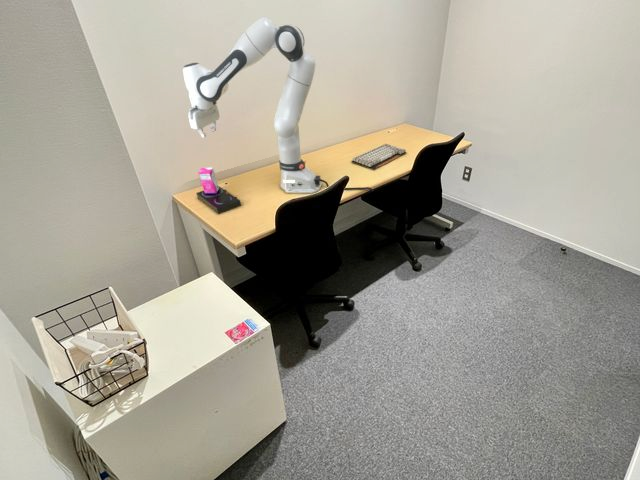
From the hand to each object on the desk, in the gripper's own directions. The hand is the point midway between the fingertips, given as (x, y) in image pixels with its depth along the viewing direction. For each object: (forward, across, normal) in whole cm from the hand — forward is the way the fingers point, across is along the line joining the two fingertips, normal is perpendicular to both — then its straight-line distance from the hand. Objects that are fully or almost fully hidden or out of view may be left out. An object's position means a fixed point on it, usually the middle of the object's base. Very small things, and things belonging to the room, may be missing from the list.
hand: (208, 134), depth 162 cm
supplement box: (+24, -15, -4) cm, 28 cm away
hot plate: (+27, -18, -8) cm, 33 cm away
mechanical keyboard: (+27, +60, -79) cm, 102 cm away
